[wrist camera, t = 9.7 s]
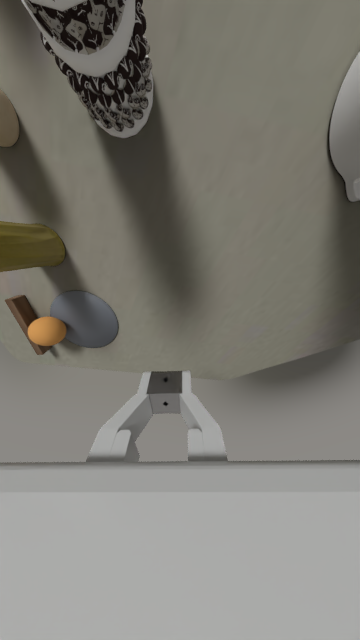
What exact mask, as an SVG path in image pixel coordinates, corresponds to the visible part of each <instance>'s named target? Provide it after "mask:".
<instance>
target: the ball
mask: <svg viewBox="0 0 360 640" xmlns="http://www.w3.org/2000/svg"><path fill="white" fill-rule="evenodd" d="M65 335H66V326H65V324H64V323H63V322H62V321H61V320H59V319H57V318H54V317H42V318H39V319H36V320H35V321H33V322H32V323H31V324H30V326H29V328H28V336H29V338H30V340H31V341H33V342H34V343H36V344H38V345H42V346H51V345H54V344H57V343H59V342H60V341H61V340H63V338H64V337H65Z"/></svg>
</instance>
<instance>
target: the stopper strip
mask: <svg viewBox="0 0 360 640" xmlns="http://www.w3.org/2000/svg"><path fill="white" fill-rule="evenodd" d="M5 302H6V303H7V305H8V307H9V308H10V310H11V312H12V313H13V315H14V317H15V318H16V320H17V322H18V323H19V325H20V327H21V328H22V330H23V332H24V334H25V335H26V337H27V339H28V340H29V342H30V344H31V345H32V347H33V349H34V350H35V352H36V354H37V355H43V354H44V353H45V352H47V351H48V350H49V349H50V348H51V347H52V346H42V345H38V344H36V343H34V342H33V341H31V340H30V338H29V336H28V328H29V326H30V324H31V323H32V322H33V321H35V320H36V319H37V318H36V316H35V314H34V312H33V310H32V308H31V306H30V304H29V303H28V301H27V299H26V297H25V295H18V296H15V297H12V298H9V299H6V300H5Z"/></svg>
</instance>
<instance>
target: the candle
mask: <svg viewBox="0 0 360 640" xmlns="http://www.w3.org/2000/svg"><path fill="white" fill-rule="evenodd" d="M18 136H19V122H18V118H17V115H16V112H15V110H14V108H13V105H12V104H11V102H10V100H9V99H8V97H7V96H6V95H5V94H4V92H3V91H2V90H1V89H0V146H2V147H10V146H12V145H14V144H15V143H16V141H17V139H18Z"/></svg>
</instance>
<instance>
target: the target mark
mask: <svg viewBox="0 0 360 640" xmlns="http://www.w3.org/2000/svg"><path fill="white" fill-rule="evenodd" d="M50 315H51V317H54V318H57V319H59V320H61V321H62V322H63V323H64V324H65V326H66V335H65V338H66V339H67V340H69V341H70V342H72V343H74V344H77V345H79V346H83V347H89V348H97V347H102V346H105V345H107V344H109V343H110V342H111V341H112V340H113V339H114V338H115V336H116V334H117V331H118V321H117V318H116V315H115V313H114V312H113V310H112V309H111V308H110V306H109V305H108V304H107V303H106V302H104V301H103V300H102V299H100V298H99V297H97V296H95V295H93V294H90V293H87V292H83V291H69V292H65V293H63V294H61V295H59V296H58V297H57V298H56V299H55V300H54V301H53V303H52V305H51V309H50Z"/></svg>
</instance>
